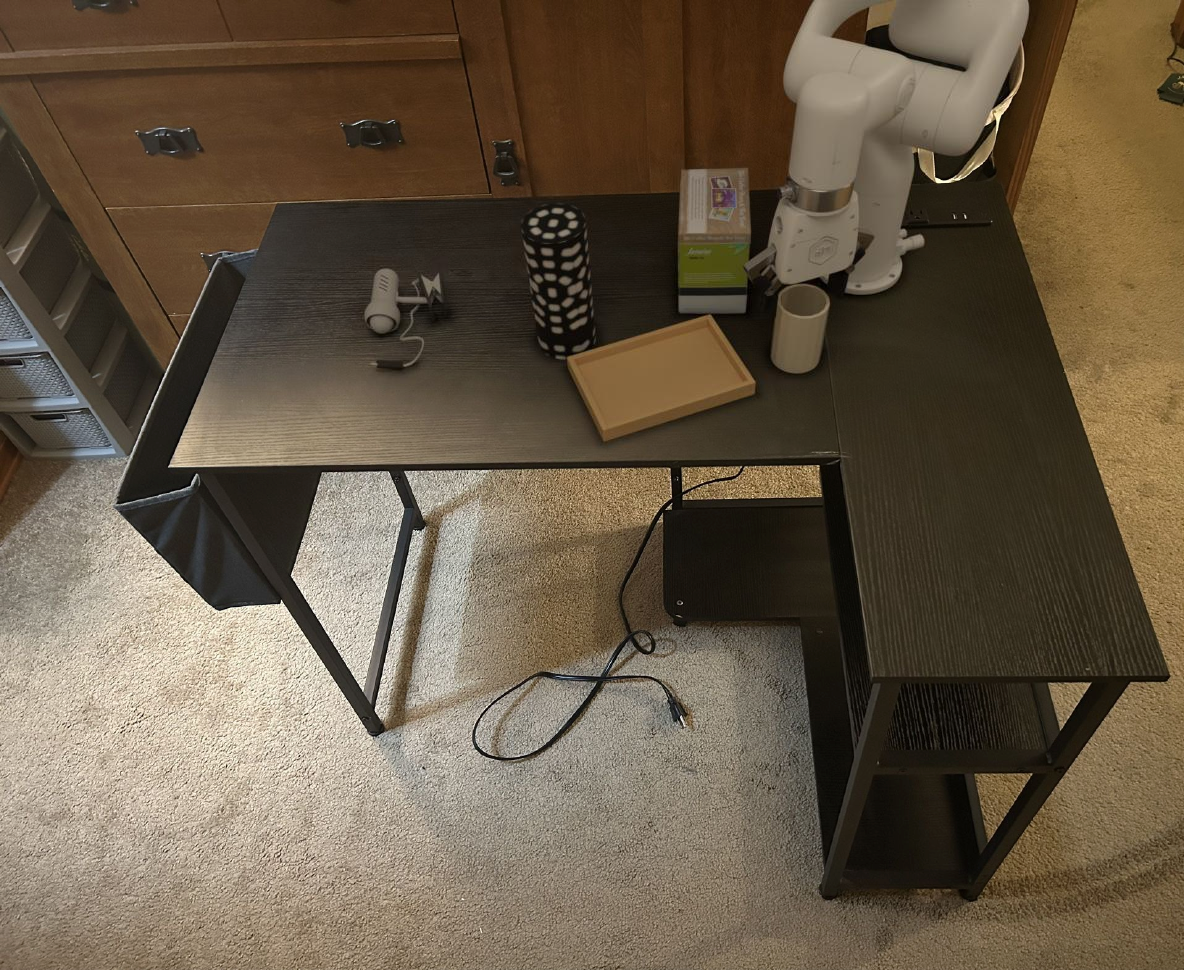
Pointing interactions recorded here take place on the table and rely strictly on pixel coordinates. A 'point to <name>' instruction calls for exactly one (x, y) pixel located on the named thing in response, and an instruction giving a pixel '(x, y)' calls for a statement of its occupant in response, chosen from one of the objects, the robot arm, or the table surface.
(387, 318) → the clip-on lamp
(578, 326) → the spotted tube
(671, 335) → the tray
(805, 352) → the cup
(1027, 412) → the table surface
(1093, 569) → the table surface
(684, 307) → the tea box
